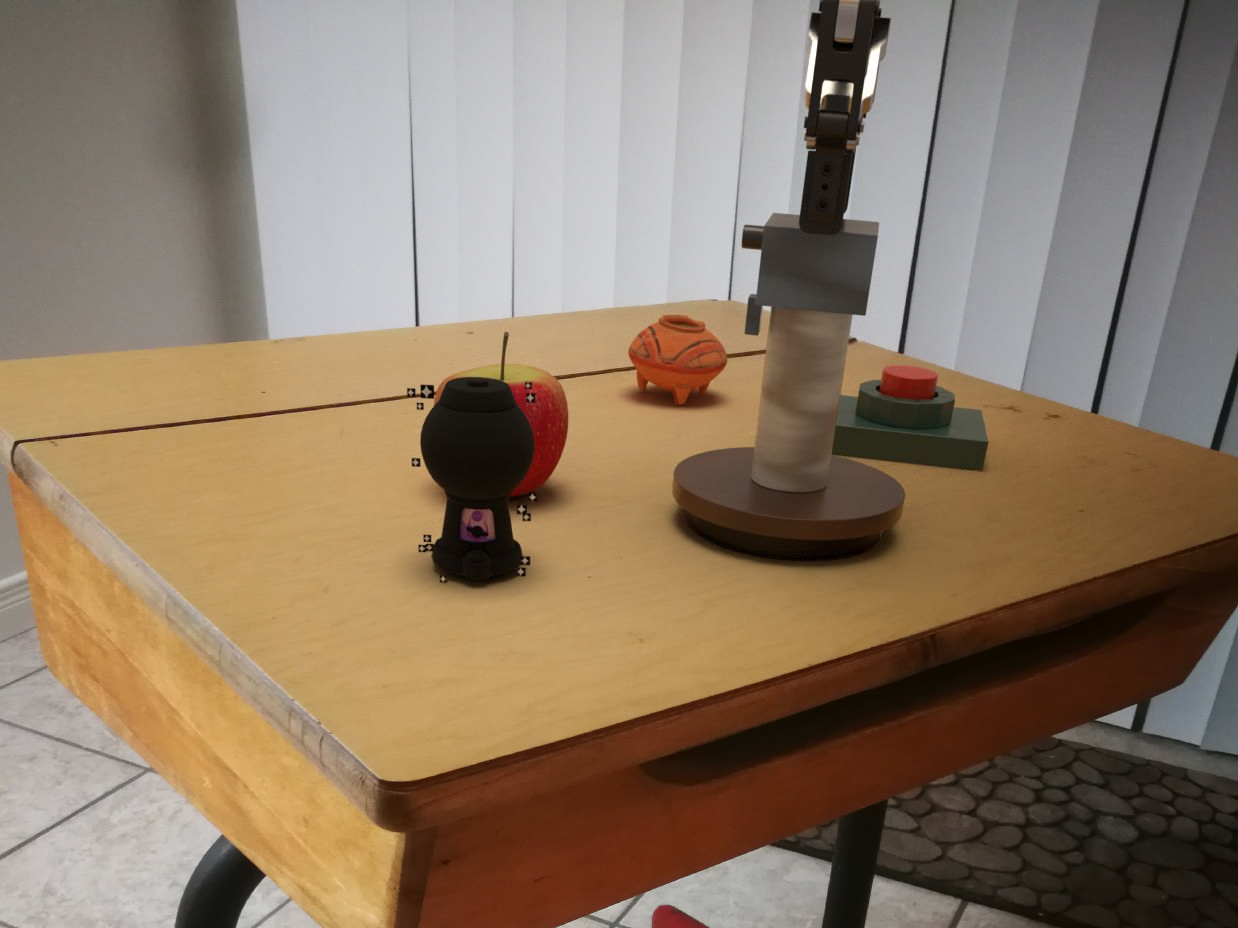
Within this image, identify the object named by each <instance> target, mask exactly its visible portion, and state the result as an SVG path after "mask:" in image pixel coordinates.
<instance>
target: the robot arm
mask: <svg viewBox="0 0 1238 928" xmlns="http://www.w3.org/2000/svg"><path fill="white" fill-rule="evenodd" d="M880 6H881V0H819V4H818V12H817V11H816V12H815V11H812V12H811V13H810V20H809V27H808V31H807V50H806V51H807V54H808V55H809V58H808V64H807V70H806V75H805V76H806V77H805V82H804V94H803V95H804V97H803V98H804V99H803V103H804V106H805V108H807V109H808V112H807V115H806V116H804V122H803V129H805V131H804V137H803V142H806V144H805V149H806V150H807V154H806V155H807V156H806V164H805V173H804V180H803V187H802V195H801V204H800V212H799V215H800V218H799V226H800V229H801V230H802V231H803V232H805V233H812V234H822V235H835V234H837V233H838V232H839V231H840V230H841V227H842V223H843V219H844V217H845V214H846V212H847V210H848V206H849V200H850V193H851V186H852V179H853V173H854V166H855V160H856V152H857V146H859V145H860V139H861V134H864V130H865V122H863V121H864V119H865V120H866V118H867V114H868V113H869V112H870V111H871V110H872V108H873V105H874V103H875V97H876V92H877V91H876V90H877V84H878V78H879V71H880V65H881V64H880V63H881V62H882V61H883V60H884V59H885V57H886V54H887V47H888V41H889V35H890V29H891V22H892V18H891V17H885V16H882V11H883V8H880Z"/></svg>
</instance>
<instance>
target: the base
mask: <svg viewBox="0 0 1238 928" xmlns="http://www.w3.org/2000/svg"><path fill="white" fill-rule="evenodd" d="M685 513H686V514H685V518H686V523H687V524H688V526H689V528H690V529H691V530H692V531H693V532H694V533H696V534H697V535H699V536H700V537H702V538H703V539H705V540H707V541H708V542H711V543H712V544H715V545H718V546H721V547H723V548H725V549H729V550H733V551H735V552H740V553H743V554H747V555H752V556H757V557H761V558H762V557H763V558H770V559H777V560H784V561H785V560H787V561H800V562H801V561H808V562H809V561H811V562H813V561H815V562H816V561H817V562H818V561H830V560H831V561H832V560H839V559H846V558H851V557H854V556H859V555H861V554H863V553H866V552H869V551H870V550H872V549H874V548H875V547H876V546H877V545H878V544H879V542H880V540H881V537H882V532H883V531H882V532H880V533H877V534H873V535H869V536H864V537H858V538H852V539H841V540H796V539H785V538H775V537H768V536H761V535H756V534H751V533H746V532H742V531H737V530H733V529H730V528H726V527H723V526H720V525H717V524H714V523H711V522H708V521H706V520H704V519H701V518H699V517H697V516H695V515H693V514H691V513H690V512H688V511H686V512H685Z"/></svg>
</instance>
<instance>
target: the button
mask: <svg viewBox="0 0 1238 928" xmlns="http://www.w3.org/2000/svg"><path fill="white" fill-rule="evenodd" d="M938 379H939V374H938V373H937V372H936V371H934V370H931V369H928V368H925V367H919V366H913V365H888V366H885V367H884V368H882V372H881V376H880V380H881V383H880V389H879V392H880V393H882V394H885V395H889V396H893V397H897V398H905V399H914V400H918V399H933V398H934V396H935V390H936V386H938V385H937V384H938Z"/></svg>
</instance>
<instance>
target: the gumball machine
mask: <svg viewBox="0 0 1238 928" xmlns="http://www.w3.org/2000/svg"><path fill="white" fill-rule="evenodd" d="M419 387H420V399H426V400H427V399H430V400H435V385H434V384H420V386H419ZM525 389H532V382H525ZM406 395H407V397H408V398H410V397H411V398H416V388H415V387H414V388H413V387H412V388H411V387H407V388H406ZM535 396H536V393H526V402H531V403H535ZM416 410H417V411H418V410H419V411H424V410H425V404H424V402H416ZM419 445H420V452H421V457H422V459H423V462H424V464H425V467H426V470H427V472H428V474H429V475H430V477H431V479H432V480H433V481H434V482H435V483H436V484H437V485H438V486H439V487H440V488H441V489H442V490H443V491H444V494H445V497H446V504H445V509H444V517H443V522H442V531H441V536H440V537H439V538H437V539H436V540H435V542H434V543H432V534H422V535H423V536H422V537H423V540H422V541H423V543H425V544H417V545H418V546H417V547H418V548H417V550H418V553H427V552H431V559H432V562H433V564H434V565H435V566H437V567H438V568H439V569H441V570H443V571H446V572H448V573H451V574H456V575H460V576H463V577H464V578H466V579H470V580H477V581H478V580H480V581H481V580H487V579H488V578H490V577H492V576H493V577H494V576H499V575H504V574H507V573H510V572H513V571H515V570H516V577H526V575H527V567H521V566H531V555H530V556H529V555H528V556H527V555H525V556H524V555H523V550H522V546H521V544H520V542H518V541H517V540H516V539H515V538H514V533H513V526H512V519H511V513H510V512H511V511H510V505H509V499H510V497H509V496H510V492H511V491H513V490H514V489H515V488H516V487H517V486H518V485H519V484H520V483H521V482H522V481H523V479H524V478H525V476H526V474H527V472H528V470H529V468H530V466H531V464H532V460H533V456H534V448H535V445H534V435H533V431H532V428H531V425H530V423H529V421H528V419H527V417H526V416H525V414H524V412H523V411H522V409H521V408H520V407H519V406H518V405H517V403H516V401H515V398H514V396H513V393H512V391H511V388H510V386H509V385H508V384H507V383H505V382H504V381H501V380H497V379H492V378H485V377H461V378H456V379H452V380H449V381H448V382H447V383H446V384H445V386H444V389H443V391H442V394H441V396H440V398H439V401H438V402H437V403H436V404H435V405H434V404H433V407H432V408H431V409H430V410H429V411H428V414H427V415H426V416H425V419H424V421H423V423H422V427H421V431H420V440H419ZM421 466H422V465H421V458H420V457H411V467H413V468H414V467H415V468H419V467H420V468H421ZM528 502H533V503H534V502H538V492H529V493H528ZM516 515H522V522H532V513H531V512H528V504H527V503H526V504H525V503H518V504H516ZM439 583H444V584H445V583H448V575H441V574H440V575H439Z"/></svg>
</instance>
